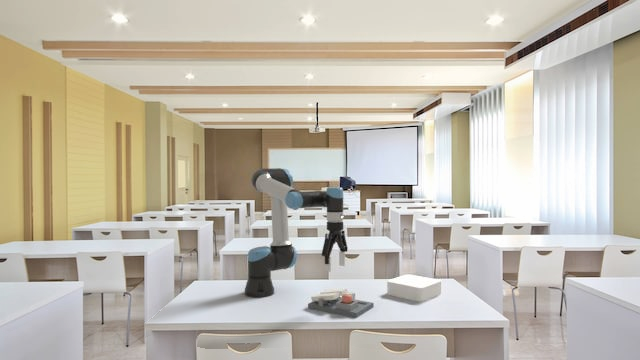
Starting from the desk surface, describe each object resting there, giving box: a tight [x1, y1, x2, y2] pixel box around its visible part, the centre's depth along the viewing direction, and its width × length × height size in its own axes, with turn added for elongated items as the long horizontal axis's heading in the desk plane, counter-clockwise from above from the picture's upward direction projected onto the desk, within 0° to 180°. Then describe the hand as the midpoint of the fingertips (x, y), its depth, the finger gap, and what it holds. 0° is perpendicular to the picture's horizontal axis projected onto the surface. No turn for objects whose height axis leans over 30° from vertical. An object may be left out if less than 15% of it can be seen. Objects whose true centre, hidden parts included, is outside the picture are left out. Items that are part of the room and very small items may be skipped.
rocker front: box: [310, 293, 339, 302], centre depth 195 cm, size 12×5×2 cm, turn 58°
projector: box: [386, 273, 442, 303], centre depth 218 cm, size 21×22×7 cm
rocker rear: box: [319, 288, 349, 297], centre depth 201 cm, size 12×5×2 cm, turn 58°
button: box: [341, 293, 352, 304], centre depth 189 cm, size 5×5×4 cm
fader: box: [348, 292, 356, 300], centre depth 198 cm, size 2×3×3 cm, turn 148°
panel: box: [307, 296, 375, 319], centre depth 195 cm, size 25×17×5 cm
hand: (335, 268), depth 192 cm, fingers open, 12 cm apart
